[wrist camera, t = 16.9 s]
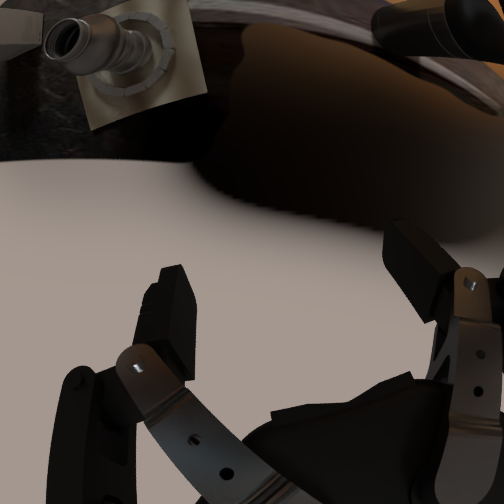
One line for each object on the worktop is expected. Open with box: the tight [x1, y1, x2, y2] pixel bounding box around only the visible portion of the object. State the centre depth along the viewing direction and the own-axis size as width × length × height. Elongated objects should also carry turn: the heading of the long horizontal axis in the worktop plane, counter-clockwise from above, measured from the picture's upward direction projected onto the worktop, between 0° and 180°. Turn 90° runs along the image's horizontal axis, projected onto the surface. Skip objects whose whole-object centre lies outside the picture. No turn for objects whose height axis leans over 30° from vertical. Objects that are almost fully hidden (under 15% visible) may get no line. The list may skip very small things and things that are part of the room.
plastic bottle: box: [44, 14, 152, 76], centre depth 21 cm, size 6×7×20 cm
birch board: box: [77, 0, 207, 131], centre depth 29 cm, size 18×18×1 cm
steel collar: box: [87, 11, 176, 97], centre depth 28 cm, size 12×12×2 cm
